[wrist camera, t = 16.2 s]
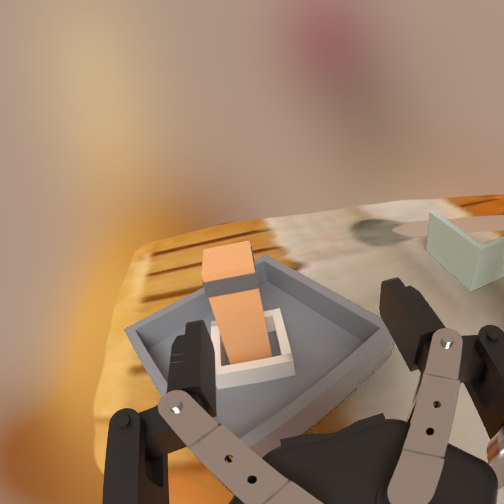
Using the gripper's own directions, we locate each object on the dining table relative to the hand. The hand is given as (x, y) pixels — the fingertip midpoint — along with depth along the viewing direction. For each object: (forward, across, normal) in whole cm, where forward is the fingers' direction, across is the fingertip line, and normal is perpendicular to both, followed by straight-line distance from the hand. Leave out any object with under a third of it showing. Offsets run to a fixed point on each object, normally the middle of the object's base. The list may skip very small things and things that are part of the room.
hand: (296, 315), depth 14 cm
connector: (+14, +4, +18) cm, 23 cm away
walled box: (+14, +4, +19) cm, 24 cm away
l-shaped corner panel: (+22, -32, +20) cm, 44 cm away
